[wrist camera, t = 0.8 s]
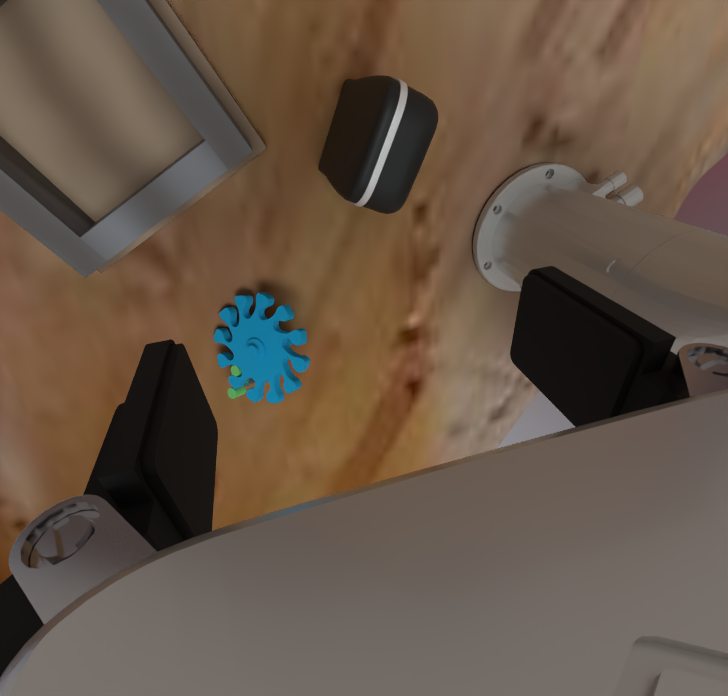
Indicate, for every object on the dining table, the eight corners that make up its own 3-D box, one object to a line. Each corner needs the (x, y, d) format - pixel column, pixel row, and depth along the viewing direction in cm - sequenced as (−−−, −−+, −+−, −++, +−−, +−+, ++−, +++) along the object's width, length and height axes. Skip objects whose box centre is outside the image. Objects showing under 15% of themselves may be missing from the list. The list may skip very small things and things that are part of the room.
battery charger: (358, 188, 33) (404, 229, 24) (315, 172, 31) (347, 208, 22) (391, 97, 30) (459, 103, 21) (345, 73, 28) (397, 69, 19)
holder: (63, -150, 20) (22, -204, 16) (266, 146, 29) (270, 155, 26) (-153, 48, 22) (-235, 41, 18) (105, 267, 31) (87, 293, 27)
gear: (242, 267, 32) (322, 354, 31) (285, 267, 37) (355, 341, 36) (188, 356, 37) (254, 435, 35) (233, 344, 42) (293, 412, 41)
